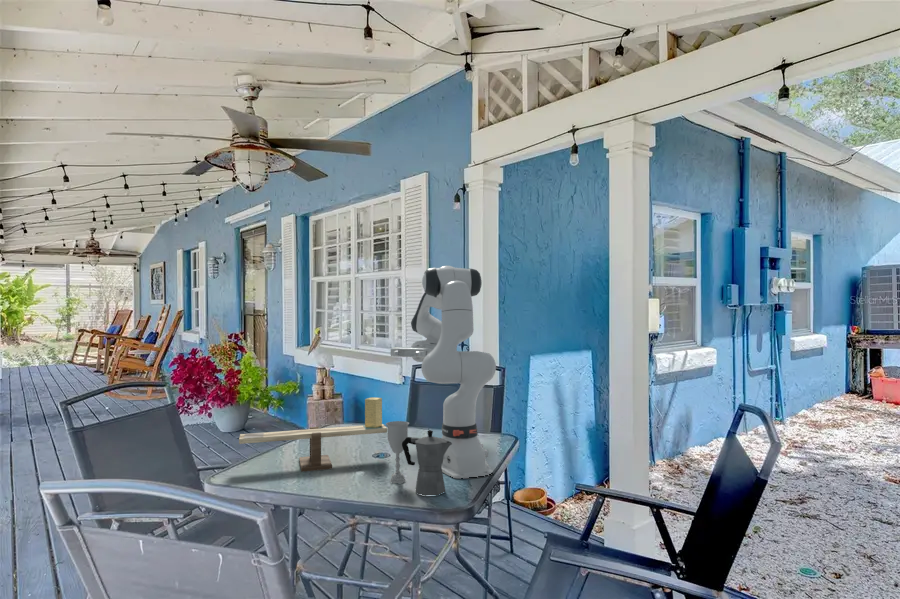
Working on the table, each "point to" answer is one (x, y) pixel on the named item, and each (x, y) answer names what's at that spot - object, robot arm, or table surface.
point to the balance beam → (309, 434)
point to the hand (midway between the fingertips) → (406, 353)
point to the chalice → (397, 445)
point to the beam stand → (315, 455)
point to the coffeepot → (428, 462)
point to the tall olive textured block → (373, 412)
